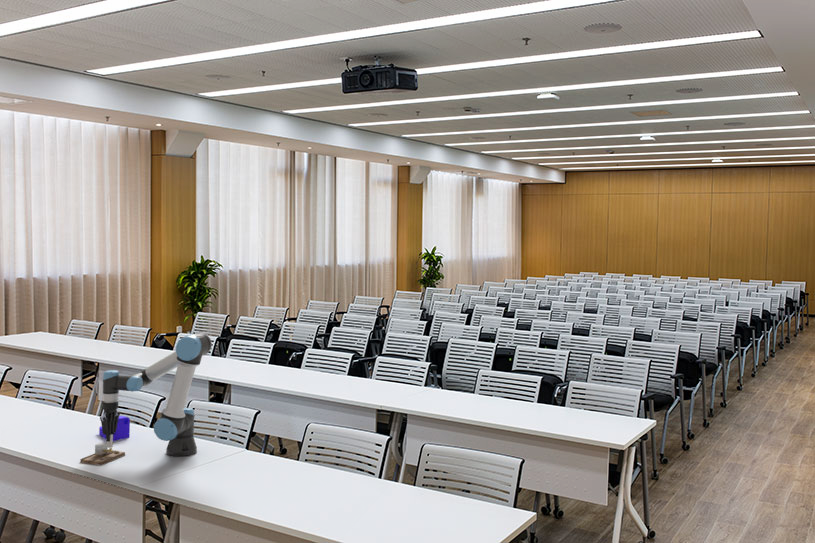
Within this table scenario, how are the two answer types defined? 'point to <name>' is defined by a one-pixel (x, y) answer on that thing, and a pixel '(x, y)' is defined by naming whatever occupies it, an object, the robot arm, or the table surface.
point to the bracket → (119, 429)
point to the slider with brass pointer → (102, 449)
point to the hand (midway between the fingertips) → (109, 447)
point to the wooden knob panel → (102, 458)
